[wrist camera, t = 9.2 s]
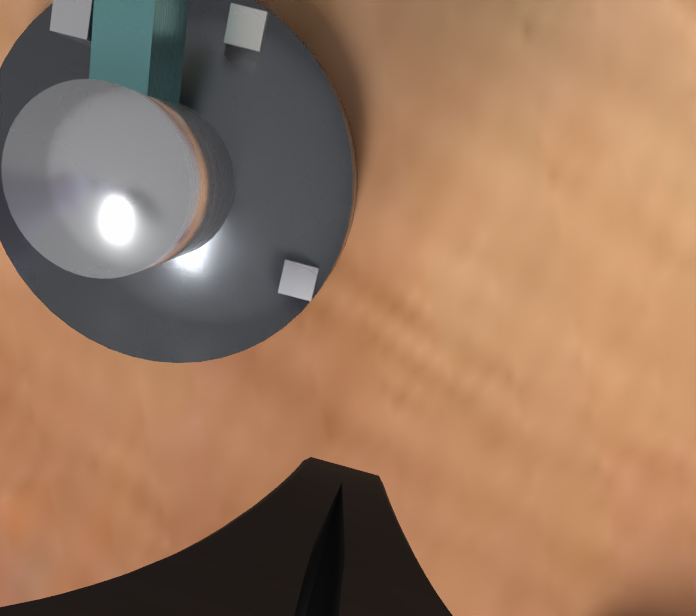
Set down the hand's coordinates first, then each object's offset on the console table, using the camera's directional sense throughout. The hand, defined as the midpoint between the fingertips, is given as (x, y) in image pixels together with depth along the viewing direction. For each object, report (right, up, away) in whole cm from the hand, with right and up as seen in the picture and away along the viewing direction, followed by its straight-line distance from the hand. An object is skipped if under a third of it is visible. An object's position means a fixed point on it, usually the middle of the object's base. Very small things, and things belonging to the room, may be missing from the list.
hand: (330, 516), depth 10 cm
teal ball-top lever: (-5, +10, +6) cm, 13 cm away
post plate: (-5, +8, +8) cm, 12 cm away
